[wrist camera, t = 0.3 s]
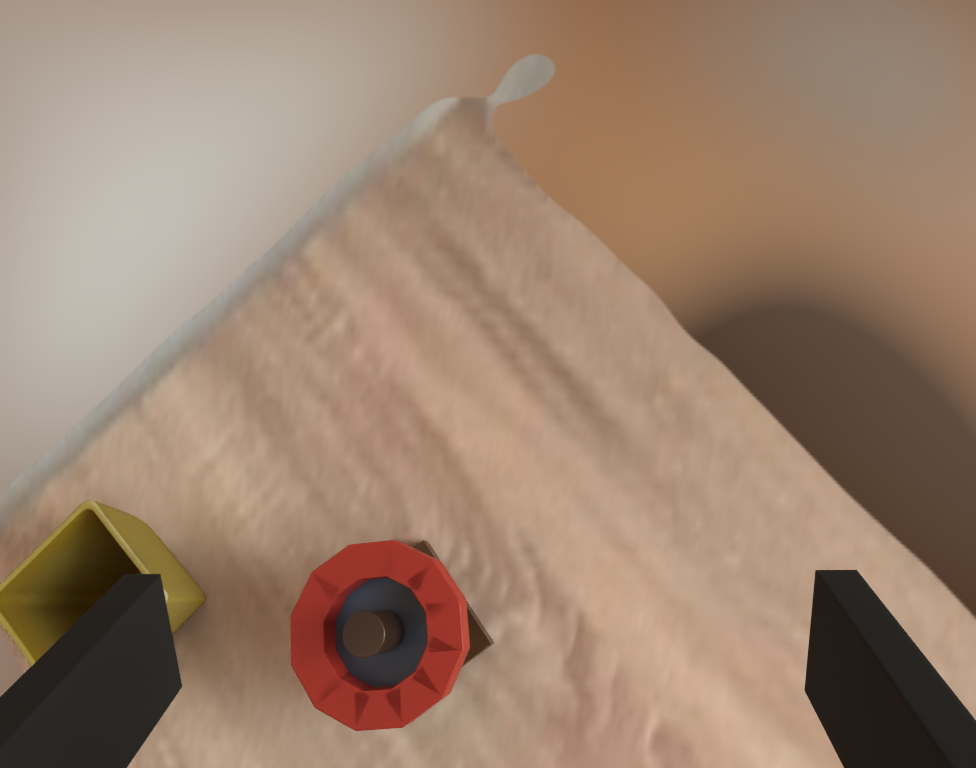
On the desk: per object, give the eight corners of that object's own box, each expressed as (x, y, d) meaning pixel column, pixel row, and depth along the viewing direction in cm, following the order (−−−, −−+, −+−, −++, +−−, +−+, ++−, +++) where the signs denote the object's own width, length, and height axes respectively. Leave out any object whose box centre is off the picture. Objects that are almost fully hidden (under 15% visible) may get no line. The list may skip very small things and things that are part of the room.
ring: (502, 654, 42) (497, 657, 40) (359, 760, 42) (347, 768, 40) (408, 511, 45) (399, 507, 43) (275, 609, 45) (260, 609, 43)
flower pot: (243, 598, 51) (169, 599, 43) (151, 692, 51) (58, 713, 42) (171, 511, 54) (88, 495, 45) (83, 599, 53) (-18, 600, 45)
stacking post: (494, 642, 48) (465, 654, 38) (394, 717, 48) (340, 747, 38) (427, 541, 50) (384, 528, 41) (332, 611, 50) (267, 615, 41)
